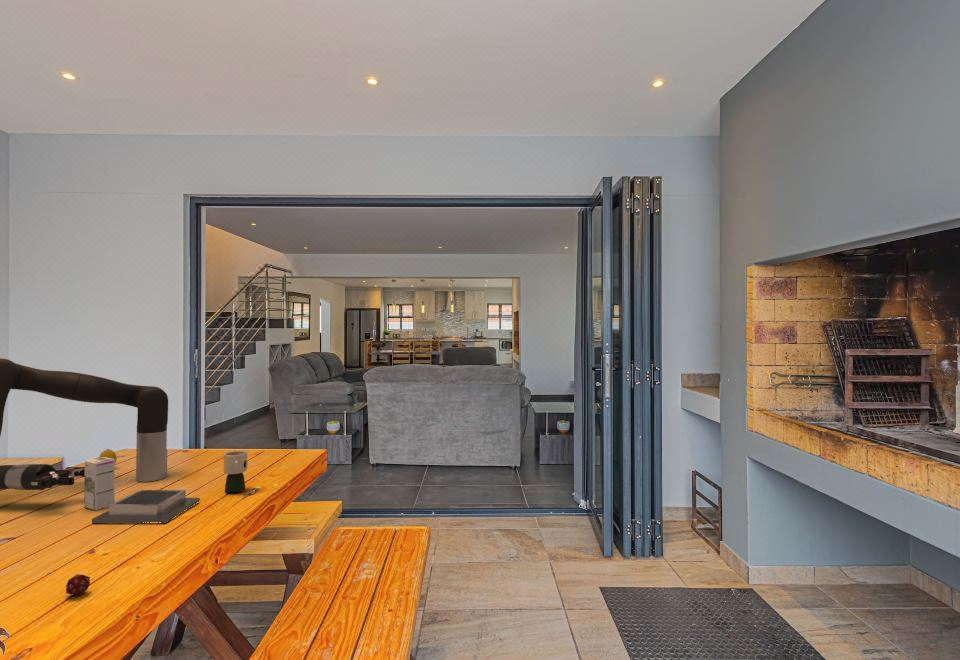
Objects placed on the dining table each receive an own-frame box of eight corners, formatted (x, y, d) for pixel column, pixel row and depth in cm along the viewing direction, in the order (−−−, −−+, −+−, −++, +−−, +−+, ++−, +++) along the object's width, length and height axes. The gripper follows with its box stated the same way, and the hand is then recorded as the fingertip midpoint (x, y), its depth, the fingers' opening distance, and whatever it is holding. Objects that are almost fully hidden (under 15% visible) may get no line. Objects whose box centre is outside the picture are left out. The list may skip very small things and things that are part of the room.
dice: (72, 590, 104) (73, 570, 104) (95, 589, 104) (96, 570, 104) (59, 600, 100) (59, 579, 100) (83, 599, 100) (83, 579, 100)
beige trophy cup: (248, 494, 166) (248, 455, 166) (224, 498, 162) (224, 457, 163) (245, 485, 175) (245, 448, 176) (222, 488, 172) (223, 450, 172)
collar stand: (134, 502, 157) (135, 488, 157) (199, 502, 158) (199, 488, 158) (91, 524, 139) (92, 507, 139) (165, 524, 140) (165, 507, 140)
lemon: (106, 472, 191) (107, 450, 191) (94, 471, 192) (95, 450, 192) (119, 468, 196) (120, 447, 197) (108, 467, 198) (108, 447, 198)
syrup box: (115, 505, 155) (116, 458, 155) (93, 511, 149) (94, 462, 149) (104, 502, 157) (105, 456, 157) (82, 508, 152) (83, 460, 152)
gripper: (9, 470, 146) (66, 471, 146) (49, 458, 160) (101, 458, 160) (8, 496, 146) (65, 496, 146) (49, 482, 160) (101, 482, 160)
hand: (84, 477), depth 153 cm, fingers open, 8 cm apart
